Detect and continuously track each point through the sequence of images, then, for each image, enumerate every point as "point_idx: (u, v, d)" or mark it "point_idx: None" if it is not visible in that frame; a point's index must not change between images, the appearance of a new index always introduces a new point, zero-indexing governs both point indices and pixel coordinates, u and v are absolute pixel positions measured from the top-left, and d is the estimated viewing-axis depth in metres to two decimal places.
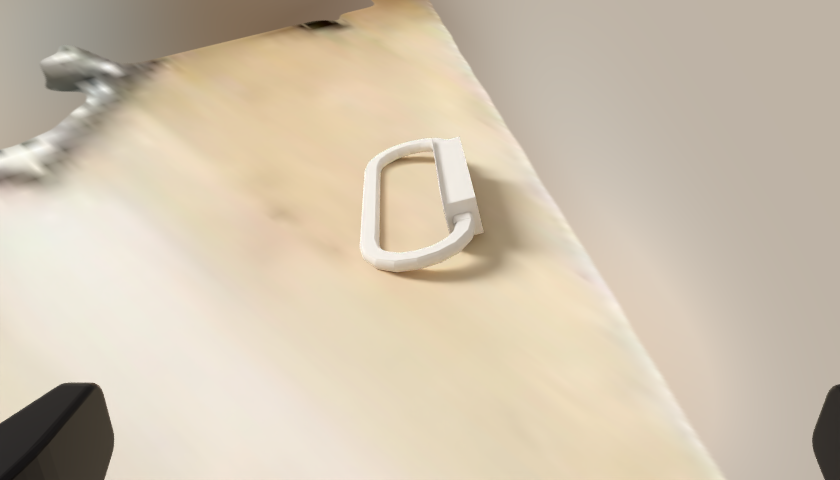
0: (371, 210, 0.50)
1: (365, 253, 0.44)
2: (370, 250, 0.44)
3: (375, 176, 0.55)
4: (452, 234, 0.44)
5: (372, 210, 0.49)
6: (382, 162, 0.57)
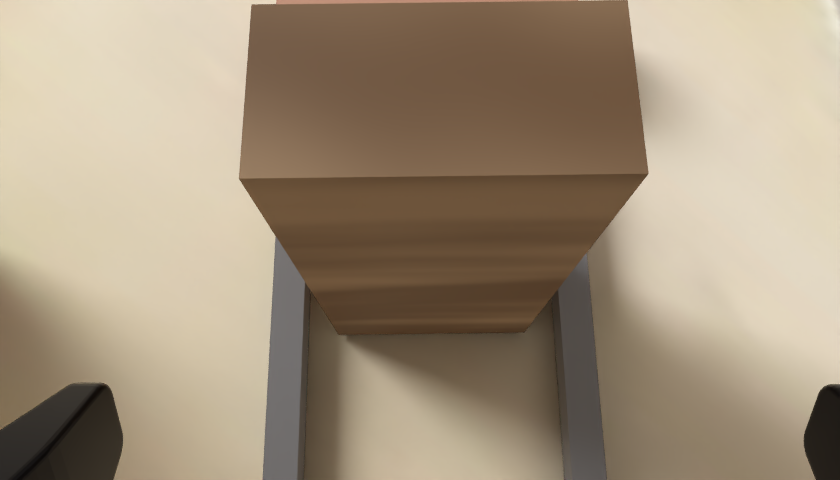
0: None
1: None
2: None
3: None
4: None
5: None
6: None
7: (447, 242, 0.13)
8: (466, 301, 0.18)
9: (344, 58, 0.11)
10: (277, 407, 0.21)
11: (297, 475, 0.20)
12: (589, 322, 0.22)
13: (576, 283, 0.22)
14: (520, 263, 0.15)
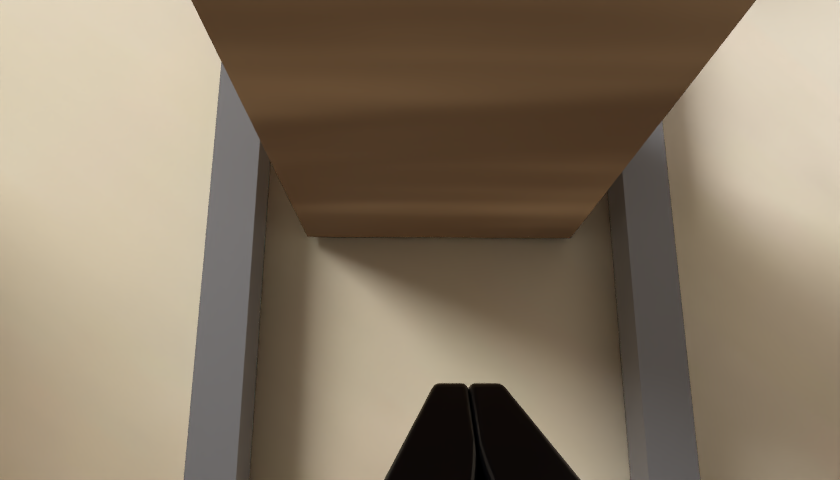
0: None
1: None
2: None
3: None
4: None
5: None
6: None
7: None
8: (502, 157, 0.12)
9: None
10: (213, 333, 0.14)
11: (240, 431, 0.14)
12: (667, 221, 0.15)
13: (647, 167, 0.15)
14: (621, 33, 0.08)
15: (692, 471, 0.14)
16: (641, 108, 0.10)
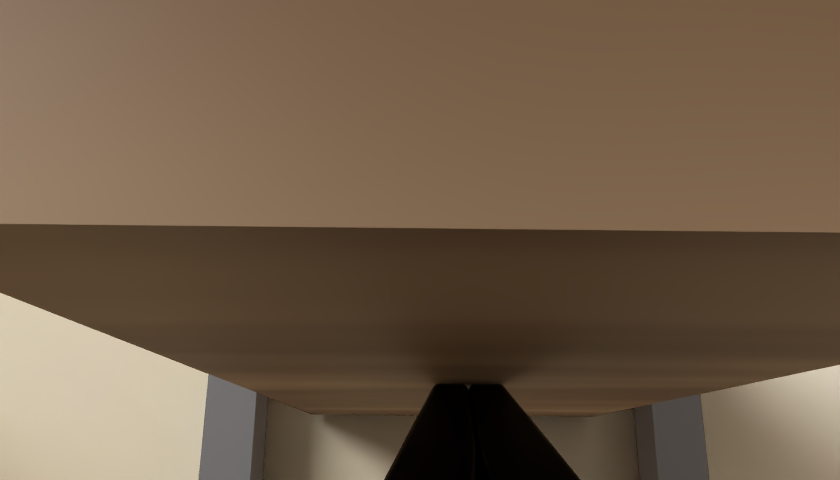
0: None
1: None
2: None
3: None
4: None
5: None
6: None
7: (535, 351, 0.06)
8: (523, 399, 0.11)
9: None
10: None
11: None
12: (703, 472, 0.14)
13: (680, 407, 0.14)
14: (665, 374, 0.07)
15: None
16: (680, 390, 0.09)
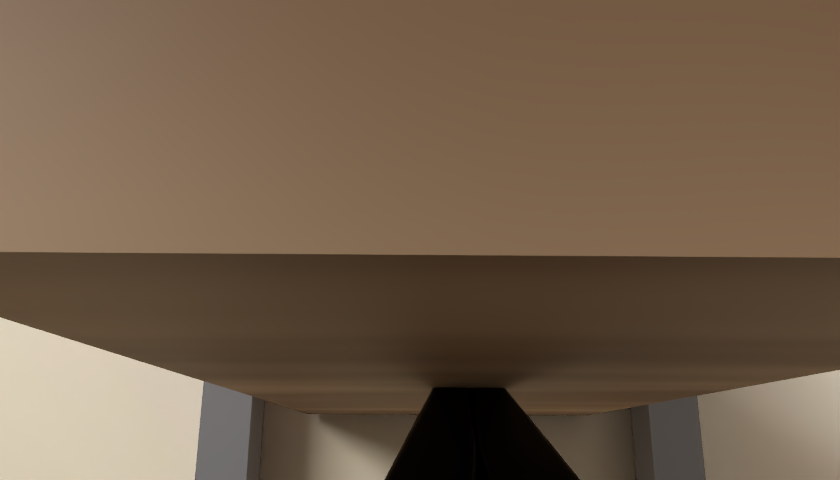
0: None
1: None
2: None
3: None
4: None
5: None
6: None
7: (527, 361, 0.06)
8: (518, 401, 0.11)
9: None
10: None
11: None
12: None
13: None
14: (658, 378, 0.07)
15: None
16: (675, 393, 0.09)
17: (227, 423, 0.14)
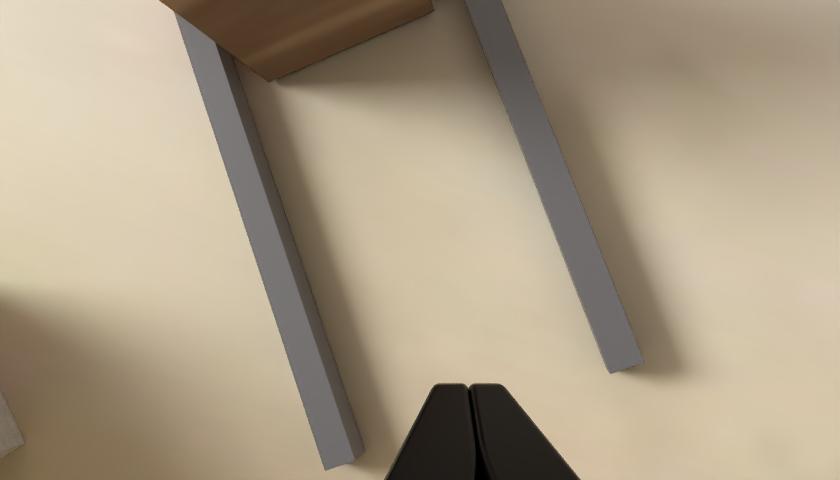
0: None
1: None
2: None
3: None
4: None
5: None
6: None
7: None
8: None
9: None
10: (292, 337, 0.22)
11: (332, 389, 0.21)
12: (556, 150, 0.21)
13: (530, 116, 0.21)
14: None
15: (620, 315, 0.20)
16: None
17: (217, 91, 0.23)
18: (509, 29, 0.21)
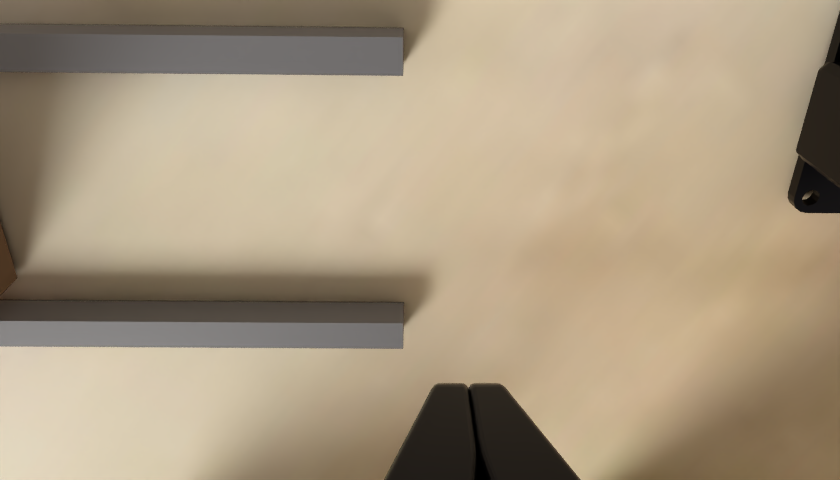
0: None
1: None
2: None
3: None
4: None
5: None
6: None
7: None
8: None
9: None
10: (275, 339, 0.23)
11: (334, 321, 0.22)
12: (147, 38, 0.18)
13: (101, 51, 0.18)
14: None
15: (346, 43, 0.18)
16: None
17: (14, 332, 0.23)
18: None
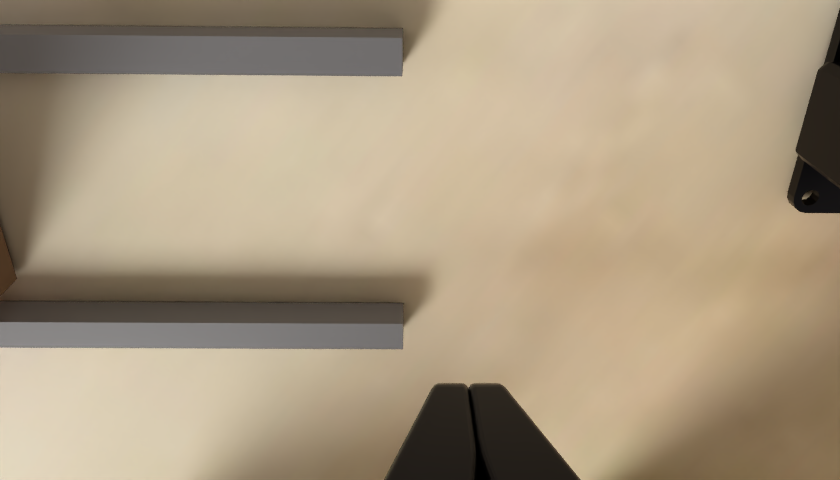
0: None
1: None
2: None
3: None
4: None
5: None
6: None
7: None
8: None
9: None
10: (274, 340, 0.23)
11: (334, 321, 0.22)
12: (147, 39, 0.18)
13: (101, 52, 0.18)
14: None
15: (345, 43, 0.18)
16: None
17: (14, 333, 0.22)
18: None
